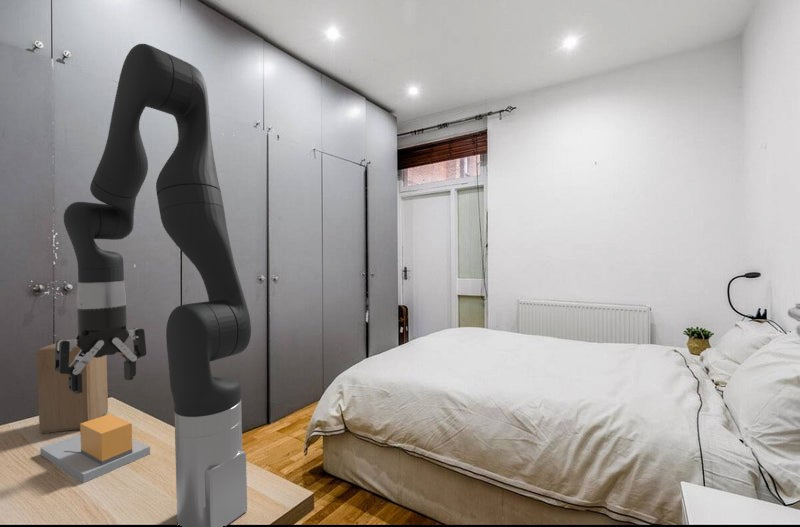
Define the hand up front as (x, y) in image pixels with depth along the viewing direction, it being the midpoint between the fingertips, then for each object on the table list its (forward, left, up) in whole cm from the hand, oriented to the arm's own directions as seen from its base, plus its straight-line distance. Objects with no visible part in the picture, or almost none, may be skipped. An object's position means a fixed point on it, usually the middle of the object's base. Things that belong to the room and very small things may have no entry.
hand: (104, 385), depth 73 cm
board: (+5, 0, -15) cm, 16 cm away
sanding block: (0, 0, -14) cm, 14 cm away
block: (+27, -4, -15) cm, 31 cm away
